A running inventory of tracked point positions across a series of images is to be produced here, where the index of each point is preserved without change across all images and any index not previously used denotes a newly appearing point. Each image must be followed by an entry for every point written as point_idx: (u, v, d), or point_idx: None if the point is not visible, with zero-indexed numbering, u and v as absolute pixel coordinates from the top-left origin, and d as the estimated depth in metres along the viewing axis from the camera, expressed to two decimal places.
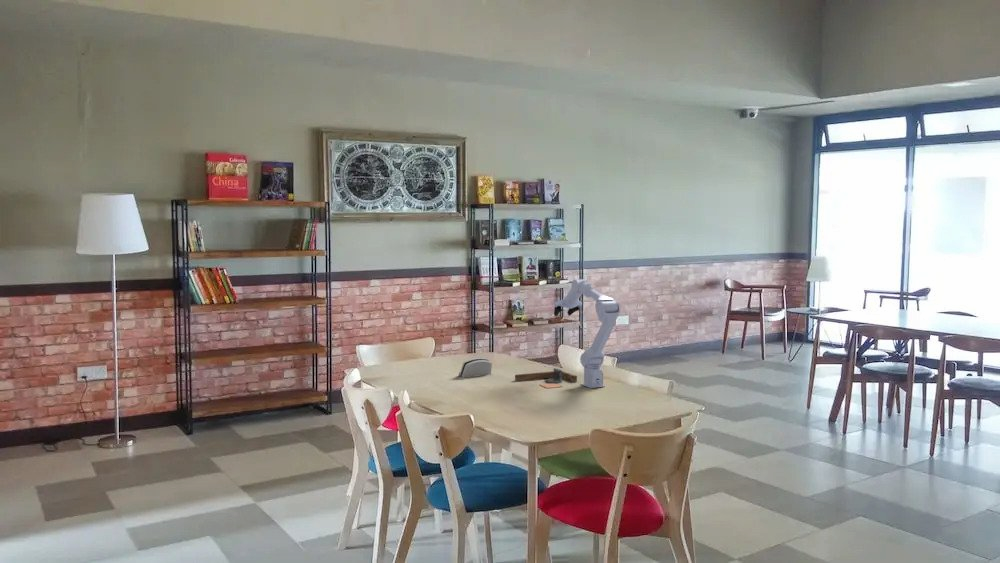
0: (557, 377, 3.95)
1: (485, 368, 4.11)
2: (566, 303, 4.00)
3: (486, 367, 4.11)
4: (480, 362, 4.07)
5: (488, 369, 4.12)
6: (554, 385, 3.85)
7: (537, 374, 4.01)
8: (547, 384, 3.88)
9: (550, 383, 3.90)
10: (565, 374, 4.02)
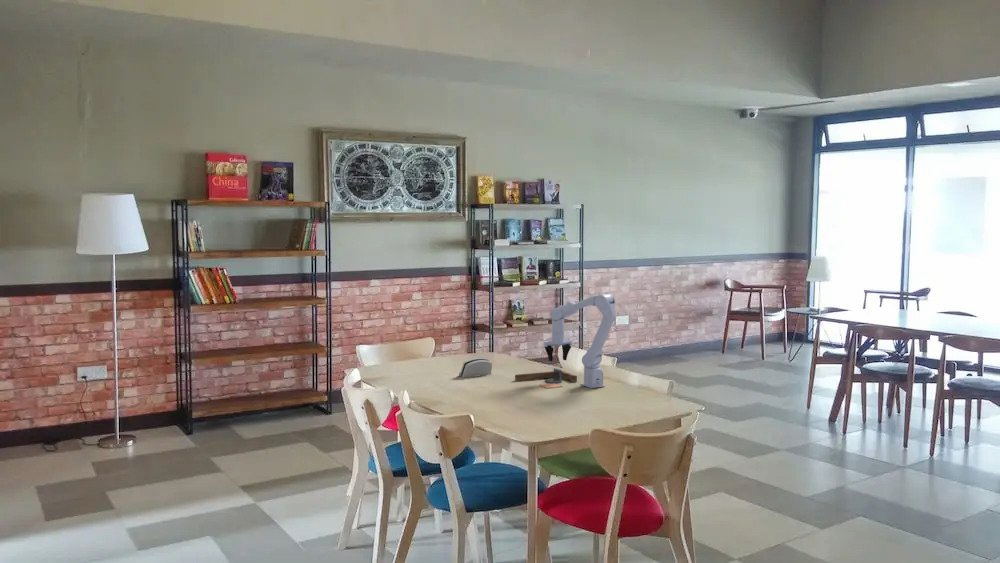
0: (557, 377, 3.95)
1: (485, 368, 4.11)
2: (554, 339, 3.92)
3: (486, 367, 4.11)
4: (480, 362, 4.07)
5: (488, 369, 4.12)
6: (554, 385, 3.85)
7: (537, 374, 4.01)
8: (547, 384, 3.88)
9: (550, 383, 3.90)
10: (565, 374, 4.02)
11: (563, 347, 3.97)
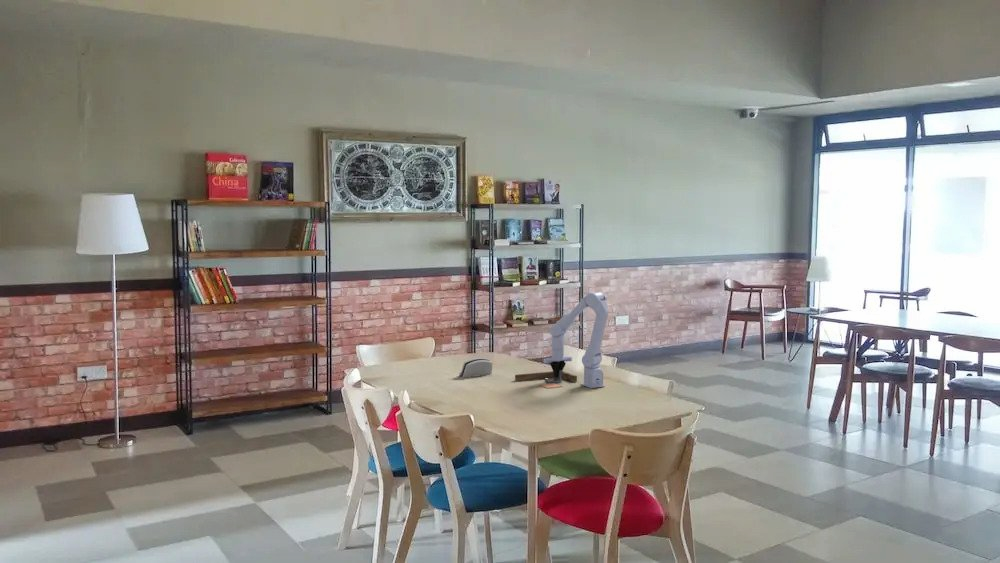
0: (557, 377, 3.95)
1: (486, 368, 4.11)
2: (554, 356, 3.93)
3: (487, 367, 4.11)
4: (481, 362, 4.07)
5: (489, 369, 4.12)
6: (554, 385, 3.85)
7: (537, 374, 4.01)
8: (547, 384, 3.88)
9: (550, 383, 3.90)
10: (565, 374, 4.02)
11: (558, 364, 3.97)
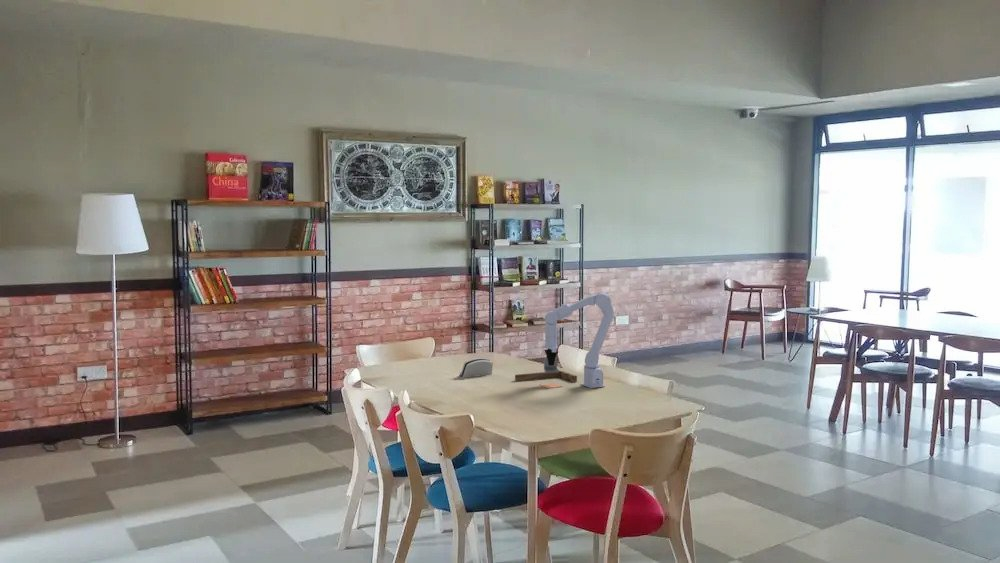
0: (552, 366, 3.88)
1: (486, 368, 4.11)
2: (555, 343, 3.86)
3: (487, 367, 4.11)
4: (481, 362, 4.08)
5: (489, 369, 4.12)
6: (554, 385, 3.85)
7: (537, 374, 4.01)
8: (547, 384, 3.88)
9: (550, 383, 3.90)
10: (565, 374, 4.02)
11: None
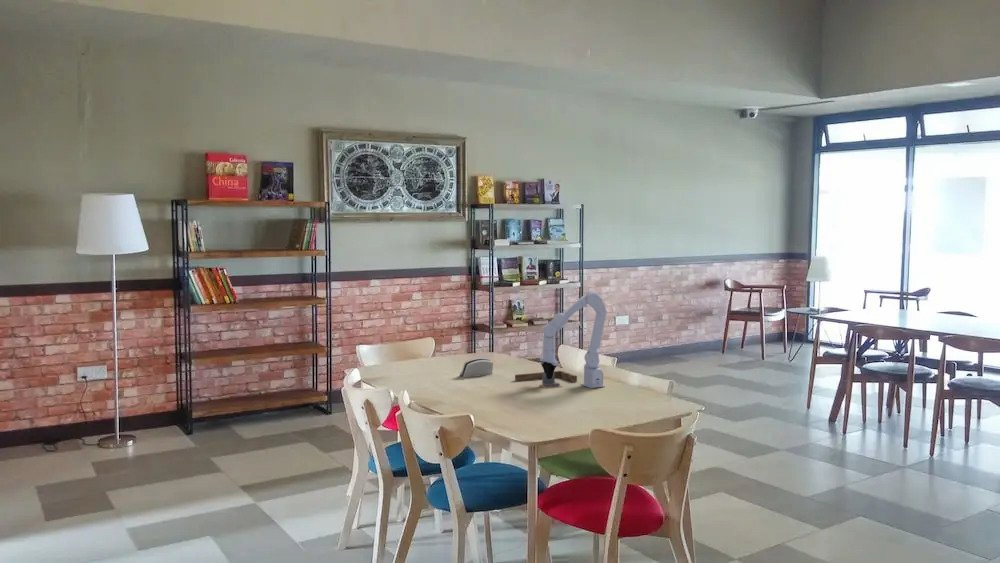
0: (550, 379, 3.87)
1: (486, 368, 4.11)
2: (554, 357, 3.85)
3: (487, 367, 4.11)
4: (481, 362, 4.08)
5: (489, 369, 4.12)
6: None
7: (537, 374, 4.01)
8: None
9: None
10: (565, 374, 4.02)
11: None
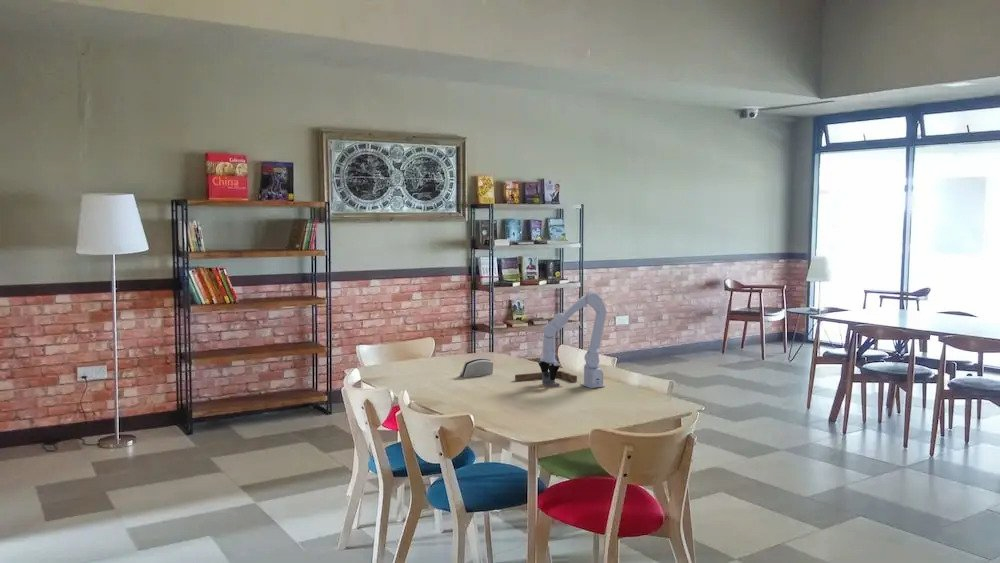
0: None
1: (487, 368, 4.11)
2: (554, 357, 3.85)
3: (488, 367, 4.11)
4: (482, 362, 4.08)
5: (490, 369, 4.12)
6: None
7: (537, 374, 4.01)
8: None
9: None
10: (565, 374, 4.02)
11: (543, 364, 3.90)
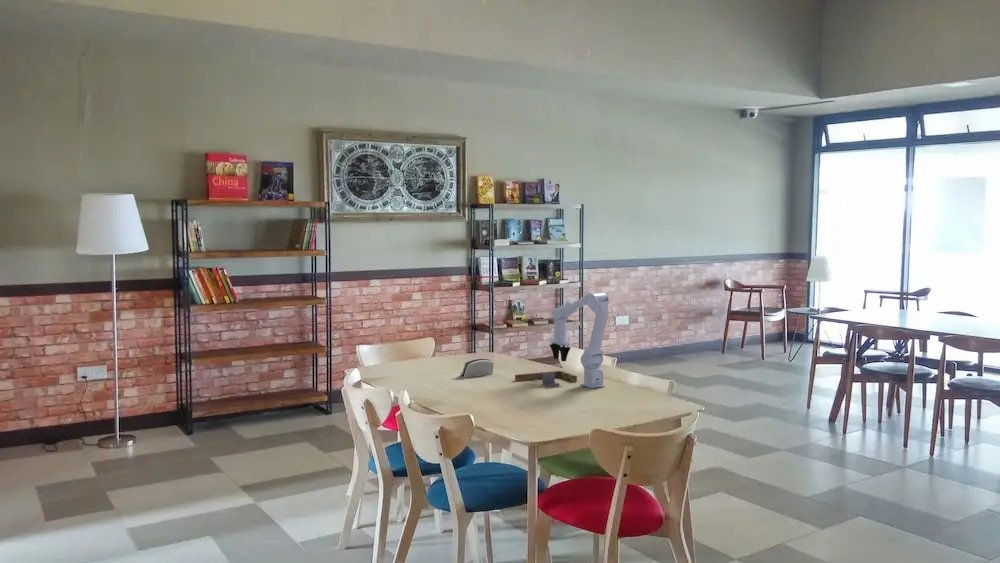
0: (550, 379, 3.87)
1: (487, 368, 4.11)
2: (565, 339, 3.99)
3: (488, 367, 4.11)
4: (482, 362, 4.08)
5: (490, 369, 4.13)
6: None
7: (537, 374, 4.01)
8: None
9: None
10: (565, 374, 4.02)
11: (554, 346, 4.04)
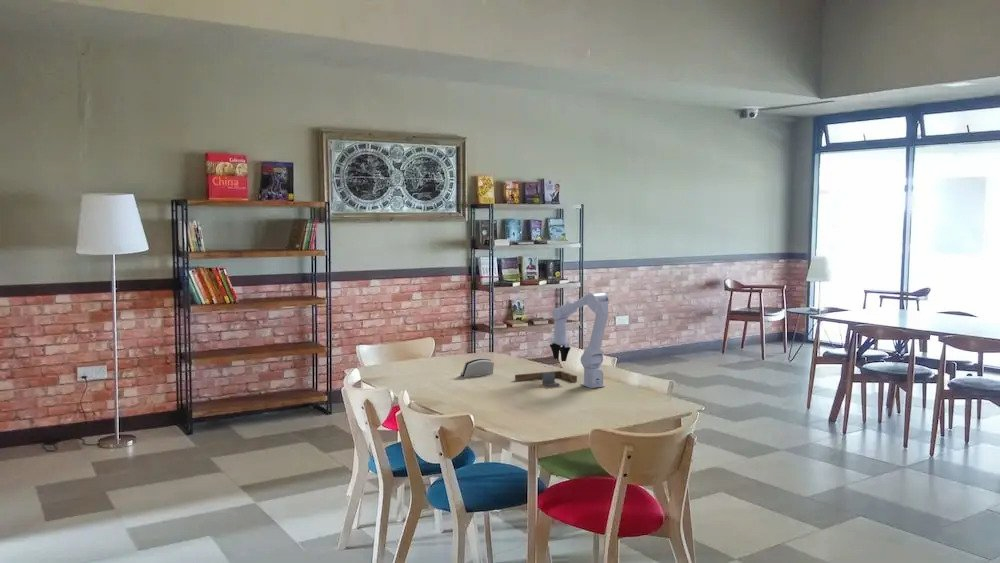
0: (550, 379, 3.87)
1: (487, 368, 4.11)
2: (565, 339, 3.99)
3: (488, 367, 4.11)
4: (482, 362, 4.08)
5: (490, 369, 4.13)
6: None
7: (537, 374, 4.01)
8: None
9: None
10: (565, 374, 4.02)
11: (554, 346, 4.04)
